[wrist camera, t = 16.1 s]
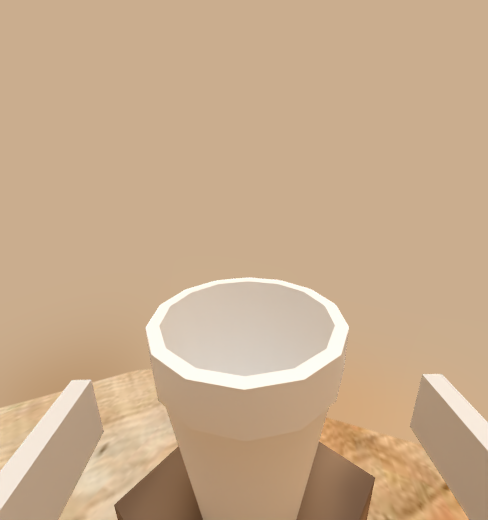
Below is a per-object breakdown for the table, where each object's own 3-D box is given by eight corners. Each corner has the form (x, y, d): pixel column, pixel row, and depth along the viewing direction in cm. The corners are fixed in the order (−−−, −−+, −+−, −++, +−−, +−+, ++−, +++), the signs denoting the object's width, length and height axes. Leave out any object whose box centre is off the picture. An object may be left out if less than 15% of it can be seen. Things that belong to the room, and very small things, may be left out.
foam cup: (360, 539, 16) (398, 343, 11) (200, 652, 12) (167, 431, 8) (274, 410, 24) (278, 268, 20) (164, 456, 20) (138, 295, 16)
